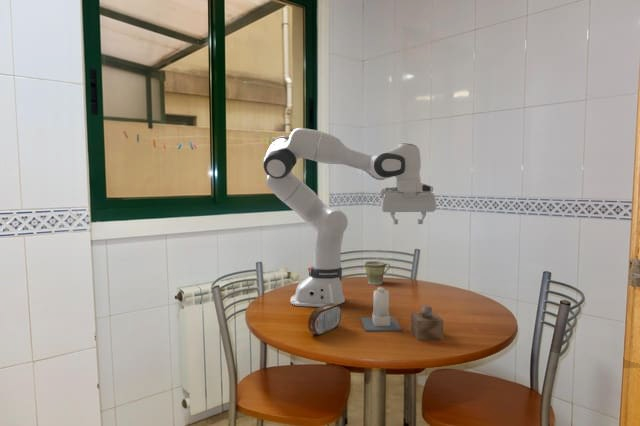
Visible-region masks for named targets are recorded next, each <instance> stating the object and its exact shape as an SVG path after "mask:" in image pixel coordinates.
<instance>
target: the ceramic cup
mask: <svg viewBox="0 0 640 426" xmlns="http://www.w3.org/2000/svg"><path fill="white" fill-rule="evenodd" d="M364 265H365V272H366V278H367V283H368V284H369V285H374V286H377V285H382V284H383V281H384V280H383V279H384V275H385V274H386V273H387V272H388V270H390V268H391V264H390V263H387V262H384V261H380V260H378V261H377V260H371V261H366V262H364ZM387 266H388V268H387V269H385V268H386V267H387Z"/></svg>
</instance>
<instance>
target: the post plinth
mask: <svg viewBox="0 0 640 426" xmlns="http://www.w3.org/2000/svg"><path fill="white" fill-rule="evenodd" d="M410 315H411V316H410V330H411V333H412V334H413V335H414V337H415V339H416V340H417V341H429V340H431V341H432V340H433V341H434V340H438V341H439V340H442V341H443V340H444V319H443V318H442V317H441V316H440V315H439V314H437V312H433V308H432V306H429V305H423V306H422V307H421V312H411V314H410Z"/></svg>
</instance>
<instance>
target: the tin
mask: <svg viewBox="0 0 640 426" xmlns="http://www.w3.org/2000/svg"><path fill="white" fill-rule="evenodd" d="M341 320H342V308H341V307H340V305H339V304H337V305H335V304H333V303H330V304H327V305H324V306H322V307H316V308H315V309H313V310H312V311H311V313H310V315H309V317H308V321H307V325H308V326H307V328H308V330H309V333H310V334H314V335H318V336H321V335H323V334H325V333H328V332H330V331H332V330H335V329H336V328H337V327H338V326H339V325H340V322H341Z"/></svg>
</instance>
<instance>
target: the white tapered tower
mask: <svg viewBox="0 0 640 426" xmlns="http://www.w3.org/2000/svg"><path fill="white" fill-rule="evenodd" d="M372 292H373V293H372V294H373V300H372V301H373V305H372V306H373V307H372V308H373V309H372V310H373V312H372V313H371V314H372V316H371V318H372V321H373V323H374V326H390V317H391V316H390V303H389V302H390V292H389V290H385V287H381V286H380V287H377V289H375V290H373V291H372Z"/></svg>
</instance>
